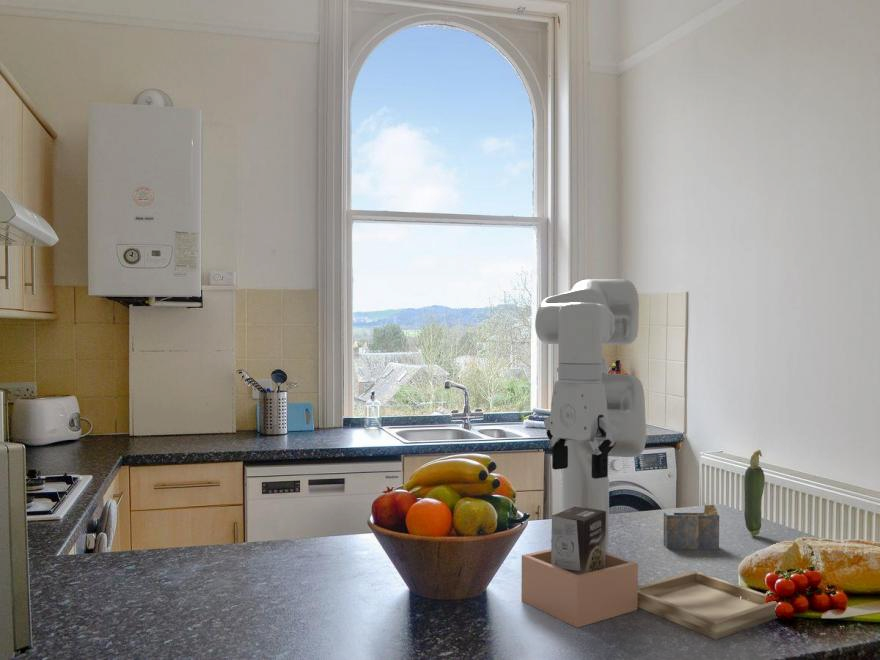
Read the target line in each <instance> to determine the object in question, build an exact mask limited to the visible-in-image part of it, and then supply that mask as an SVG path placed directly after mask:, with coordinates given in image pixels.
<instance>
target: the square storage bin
mask: <svg viewBox="0 0 880 660" xmlns="http://www.w3.org/2000/svg"><path fill="white" fill-rule="evenodd" d="M638 565H639V563H638V562H636V561H633V560H630V559H627V558H624V557H621V556H619V555H615V554H613V553H610V552H609V553H608V552H606V554H605V569H601V570H597V571H592V572H588V573H584V574H580V575H576V574H574V573H571V572H569V571H566V570H564V569H561V568H559V567H556V566H554V565H551V548H549V549H544V550H540V551H535V552H531V553H527V554H522V555H521V593H520V594H521V600H522V601H521V602H524V603H525V604H528V605H530V606H531V607H534V608H535V609H538V610H540V611H542V612H544V613H546V614H549V615H550V616H553V617H554V618H557V619H558V620H561V621H562V622H564V623H567V624H568V625H571V626H573V627H574V628H581V627H584V626H587V625H590V624H591V625H592V624H594V623H597V622H601V621H604V620H607V619H611V618H615V617H618V616H621V615H624V614H627V613H631V612H635V611H637V610H638V607H637V604H638V586H639V585H638V583H639V582H638V581H639V579H638V578H639V577H638V576H639V575H638V573H639V569H638V568H639V567H638Z"/></svg>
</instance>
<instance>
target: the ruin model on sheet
mask: <svg viewBox="0 0 880 660" xmlns="http://www.w3.org/2000/svg"><path fill="white" fill-rule="evenodd" d="M663 546H664V547H665V548H666V549H671V550H673V549H677V550H678V549H679V550H680V549H681V550H682V549H683V550H686V549H688V550H689V549H693V550H694V549H695V550H697V549H698V550H719V549H720V515H719V514H718V510H717V508H716V506H715V504H714V503H712V504H706V503H705V502H704V510H703V512H673V514H667V512H663Z"/></svg>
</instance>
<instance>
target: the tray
mask: <svg viewBox="0 0 880 660" xmlns="http://www.w3.org/2000/svg"><path fill="white" fill-rule="evenodd" d="M766 595H767V594H765V593H763V592H760V591H757V590H754V589H751V588H747V587H745V586H742V585H739V584H736V583H733V582H730V581H727V580H724V579H721V578H717V577H714V576H712V575H708V574H706V573H704V572H700V571H697V570H693V571H690V572H689V571H688V572H686V573H682V574H678V575H675V576H670V577H668V578H664V579H660V580H656V581H652V582H648V583H645V584H641V585H638V604H637V608H638V609H642V610H643V611H646V612H649V613H651V614H654V615H656V616H658V617H660V618H664V619H666V620H668V621H671V622H673V623H675V624H677V625H679V626H681V627H685V628H687V629H690V630H691V631H695V632H696V633H699V634H702V635H705V636H706V637H709V638H712V639H714V640H717V641H718V640H720V639H723V638H726V637H728V636H730V635H734V634H736V633H737V634H738V633H739V632H743V631H745V630H748V629H750V628H753V627H756V626H759V625H762V624H764V623H767V622H770V621H773V620H775V619H779V618H778V617H777V616H776V613H775V606H776V604H777V602H776V601H771V602H768V603H765V597H766ZM740 596H741V597H742V598H741V600H740ZM748 599H749V600H748Z"/></svg>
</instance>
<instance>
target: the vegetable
mask: <svg viewBox="0 0 880 660" xmlns="http://www.w3.org/2000/svg"><path fill="white" fill-rule="evenodd" d="M761 457H763V455H762V451H761V449H758V450H756V451H754V452H753V454H751V456H750V461H749V465H750V466H748V467H747V468H746V469H745V472H744V481H743V482H744V485H743V486H744V487H743V489H744V512H743V513H744V522H745V527H746V528H747V531H748V532H749V534H750V535H751V536H752V537H755V536H758V535H759V533H760V530H761V528H762V510H761V509H762V497H763V496H764V488H765V483H766V482H765V481H766V478H765V473H764V470H763V469H762V467H761V466H760V458H761Z"/></svg>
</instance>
